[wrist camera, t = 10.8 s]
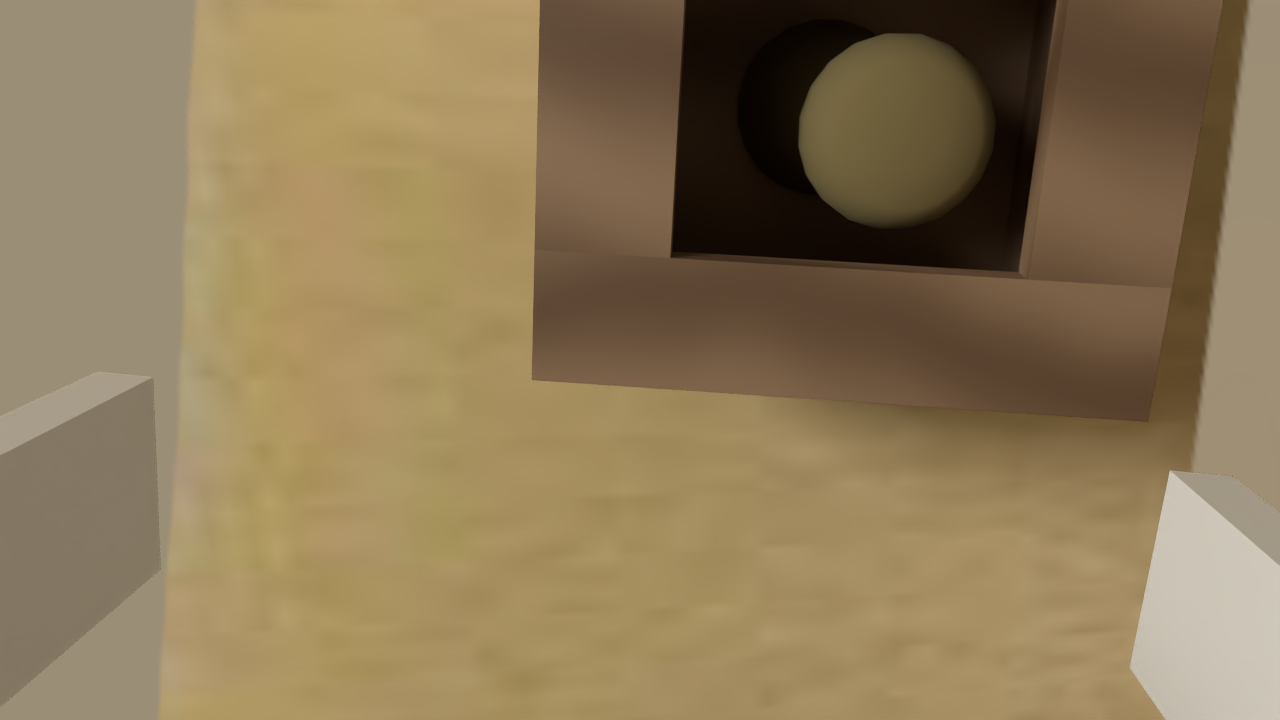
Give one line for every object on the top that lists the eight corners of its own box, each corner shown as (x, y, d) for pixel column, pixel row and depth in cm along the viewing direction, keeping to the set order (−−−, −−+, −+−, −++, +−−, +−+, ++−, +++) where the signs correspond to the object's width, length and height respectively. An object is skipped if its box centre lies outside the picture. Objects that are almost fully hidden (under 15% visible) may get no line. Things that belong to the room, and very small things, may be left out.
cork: (934, 147, 39) (1063, 191, 29) (780, 223, 40) (851, 294, 29) (868, -13, 37) (980, -30, 27) (708, 68, 38) (757, 83, 27)
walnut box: (1019, 310, 41) (1147, 421, 28) (590, 284, 42) (531, 379, 29) (1086, -160, 36) (1272, -274, 24) (607, -176, 37) (546, -295, 25)
